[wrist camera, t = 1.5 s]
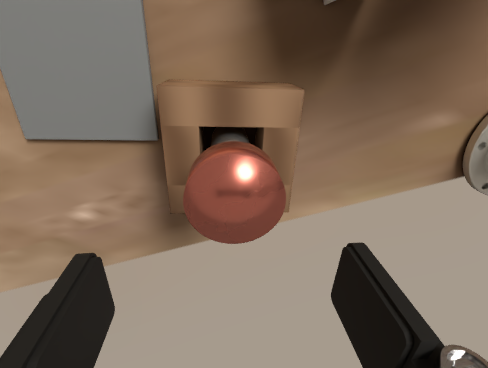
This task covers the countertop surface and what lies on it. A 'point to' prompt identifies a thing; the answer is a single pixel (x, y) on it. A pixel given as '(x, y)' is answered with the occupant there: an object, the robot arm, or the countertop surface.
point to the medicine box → (328, 1)
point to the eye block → (227, 124)
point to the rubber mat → (78, 69)
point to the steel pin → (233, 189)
